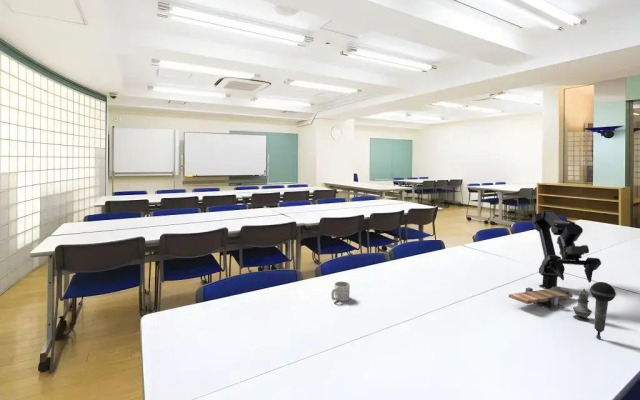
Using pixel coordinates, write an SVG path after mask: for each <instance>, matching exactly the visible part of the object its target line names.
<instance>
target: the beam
mask: <svg viewBox="0 0 640 400" xmlns="http://www.w3.org/2000/svg"><path fill="white" fill-rule="evenodd" d="M559 287H560V286H558V287H556V286H555V287H552V288H551V289H546V288H543V289H538V290H533V291H530V292H526V291H524V292H517V293H516V292H515V293H510V294H508V298H510V299H513V300H514V301H517V302H520V303H522V304H524V305H525V304H526V305H529V304H530V305H531V304H532V303H538V302H544V301H551V297H552V296H557V297H558V300H562V299H567V298H573V293H570V290H569V289H565V288H562V287H560V288H559Z"/></svg>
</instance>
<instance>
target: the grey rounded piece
mask: <svg viewBox="0 0 640 400" xmlns="http://www.w3.org/2000/svg"><path fill="white" fill-rule="evenodd" d="M576 299H577V306H573V307H572V309H573V313H574V314H575V315H573V316H572V317H573V319H575V320H577V321H580V322H585V323H586V322H587V323H588V322H590V321H591V319H590V318H589V317H590V316H591V315H592V313H593V311H592V310H591V309H590V308H589V307H588V306H589V305H588V304H589V302H590V300H589V292H588V291H586V289H585V288H582V290H580V291H579V292H578V298H576Z"/></svg>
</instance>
